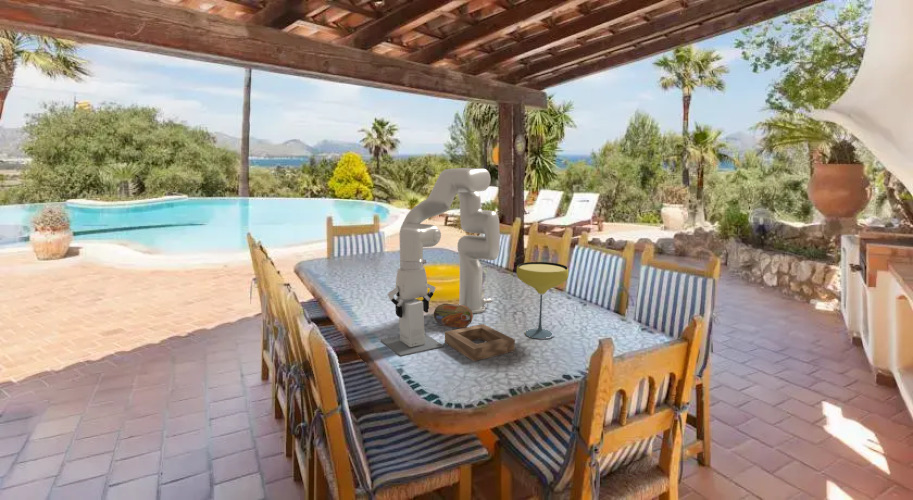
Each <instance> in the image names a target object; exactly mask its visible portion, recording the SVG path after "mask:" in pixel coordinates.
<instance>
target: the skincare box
mask: <svg viewBox="0 0 913 500" xmlns="http://www.w3.org/2000/svg"><path fill="white" fill-rule="evenodd" d="M401 306H402V318H400V317H398V319H399V320H398V324H399V336H400V341H402V342H403V343H405V344H406V345H408V346H409V347H414V346H420V345H424V344H425V334H426V333H425V317H424V315H425V312H424V311H423V302H422V300H419V299H418V298H414V299H408V300H404V301H403V302H402V304H401ZM424 333H425V334H424Z"/></svg>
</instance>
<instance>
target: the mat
mask: <svg viewBox="0 0 913 500" xmlns="http://www.w3.org/2000/svg"><path fill="white" fill-rule="evenodd" d="M424 334H425V344H424V345H420V346H414V347H409V346H408V345H406V344H405V343H403V342H402V341H400V335H398V336H392V337H388V338H383V339H380V342H382V343H383V344H384V345H385V346H387V347H388V348H389V349H391V350H392V351H393V352H395V354H397V355H398V356H400V357H403V356H408V355H413V354H417V353H422V352H423V353H424V352H426V351H432V350H436V349H441V348H444V347H445V345H444V344H443V343H441V342H439V341H438V340H436V339H434V338H433V337H432V336H430V335H428V334H426V332H424Z"/></svg>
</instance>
